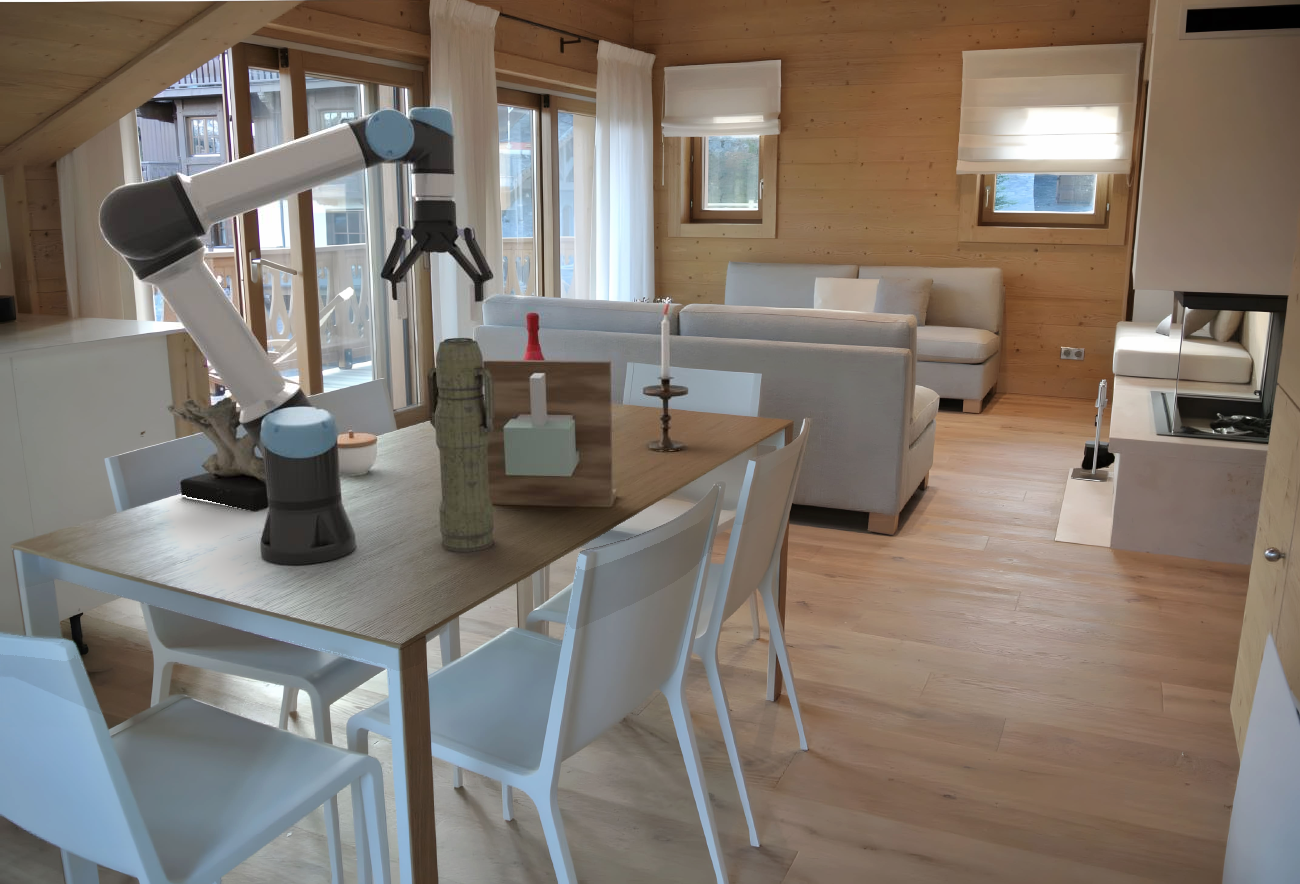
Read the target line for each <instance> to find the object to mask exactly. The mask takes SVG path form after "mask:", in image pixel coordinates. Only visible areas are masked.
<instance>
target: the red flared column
mask: <svg viewBox="0 0 1300 884" xmlns="http://www.w3.org/2000/svg"><path fill="white" fill-rule="evenodd" d="M525 319H526V330H527V331H528V332H527V334H528V335H527V337H528V338H527V346H526V349H525V354H524V357H523V359H522V360H545V357H544V355H543V352H542V347H541V345H540V340H539V339H540V338H539V330H540V325H539V324H540V323H539V322H540V321H539V320H540V315H539V314H538V313H536V312H529V313H527V314H526V317H525Z"/></svg>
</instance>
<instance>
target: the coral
mask: <svg viewBox="0 0 1300 884" xmlns="http://www.w3.org/2000/svg"><path fill="white" fill-rule="evenodd" d="M237 404H238V403H237V401H236V400H235V401H233V398H231V397H230V396H229V397H227V396H226V397H224V398H223V399H221V400H218V401H217V402H216V403H215V404H210V405H208V406H207V407H206V408H204V407H202V406H200V405H198V404H197V403H196V402H195V400H194V399H190V398H189V399H187V400H186V401H184V402H182V406H183V407H184V408H185V410H179V409H178V408H175V407H174V405H173V404H170V405H167V407H166V408H167V410H168V411H169V412H170V413H171V414H173V415H174V416H175V417H177V418H178V419H180V421H183V422H187V423H188V424H189V425H190V426H193V427H194V428H195V429H197V430H199V431H200V432H202V433H203V434H204V435H205V436H206V437H207V438H208V439H209V440H210V441H211V442H212V443H213V444H214V446H215V448H216V449H217V453H212V454H211V455H210V456H209V457H208V459H206V460H205V461H204V462H203V463H202V464H201V467H202V468H203V470H205V471H207V472H206V473H205V472H204V473H202V474H197V475H193V476H190V477H187V478H186V477H185V478H183V479H181V480H180V483H179V484H180V493H181V496H182V495H186V496H187V497H192V498H197V499H203V500H208V501H212V502H216V503H220V504H225V505H228V506H232V507H237V508H236V509H238V508H241V509H240V510H243V509H245V510H244V511H248V510H250V512H253V511H254V513H255V512H259V511H262V510H265V509H268V499H267V488H266V477H265V467H264V460H263V457H261V456H258V454H257V453H256V452H255V450H256V447H257V446H256V444H255V443H254V441H253V440H252V439H251V437H250V436H249V434H248V433H246V434H244V435H243V436H242V437H237V436H238V435H237V434H238V430H237V429H238V428H239V426H241V425H242V424H241V423H240V421H239V418H240V413H241V408H240V410H239V411H237ZM228 506H227V507H228ZM232 507H231V508H232Z"/></svg>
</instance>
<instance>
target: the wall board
mask: <svg viewBox="0 0 1300 884" xmlns="http://www.w3.org/2000/svg"><path fill="white" fill-rule="evenodd" d="M483 367H484V368H485V369H488V370H489V372H490V373H491V375H492V376H493V389H494V415H495V418H494V431H492V432H489V434H490V442H489V445H488V447H487V455H488V480H489V498H490V500H491V503H492V505H505V506H508V505H509V506H539V507H540V506H543V507H544V506H546V507H550V506H551V507H581V508H582V507H585V508H590V507H592V508H612V506H613V505H614V502H615V500H616V499H617V496H618V494H617V493H618V490H617V489H618V488H614V487H613V428H612V426H613V425H612V424H613V423H612V422H613V420H612V419H613V418H612V415H613V413H612V361H611V360H523V359H522V360H521V359H520V360H519V359H485V360H483ZM534 373H545V383H546V408H547V415H573V420H575V444H576V451H579V462H578V464H577V466H576V468H575V469H574V471H573V473H572V475H571V476H535V475H506V467H505V448H504V430H503V427H504V426H505V425H506V424H507V423H508V422H509V421H510V420H511V419H517V418H518V417H519V415H520V414H531V398H530V377H531V376H532V375H533V374H534ZM483 394H485V379H484V386H483ZM484 401H485V404H486V400H485V399H484Z"/></svg>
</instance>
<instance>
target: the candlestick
mask: <svg viewBox="0 0 1300 884" xmlns="http://www.w3.org/2000/svg"><path fill="white" fill-rule="evenodd" d="M669 304H670V302H669V301H668V302H667V304H666V305H665V309H664V310H663V314H664V316H663V320H662V321H661V376H658V377H657V379H658V380H660V383H661V384H660V385H659V384H656V385H648V386H645V387H643V388H642V394H643V395H645V396H647V397H648V396H649V397H655V398H656V397H658V398H659V399H660V400H662V414H660V415H659V419H660V421H661V423H662V425H661V426H660V429H662V436H661V438H660V439H658V440H657V439H656V440H651V441H648V442H647V443H646V448H647V447H648V448H649V449H652V450H663V451H669V450H679V449H682V448H684V449H685V443H684V442H683V441H680V440H675V439H674V440H672V439H671V438H670V436H669V429H671V428H672V427H671V426H670V425H669V424H670V421H671V419H672V415H671V414H669V400H671V399H672V398H675V397H682V396H687V395H688V394H689V387H687V386H682V385H676V384H671V383H670V382H671V380H672V379H674V377H673V376H670V321H669V320H668V316H667V315H668V311H669V306H670V305H669ZM649 449H648V450H649ZM652 450H651V451H652ZM682 450H683V449H682ZM679 451H680V450H679Z"/></svg>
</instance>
